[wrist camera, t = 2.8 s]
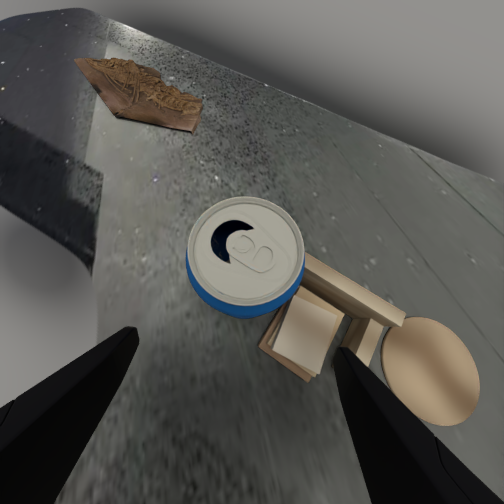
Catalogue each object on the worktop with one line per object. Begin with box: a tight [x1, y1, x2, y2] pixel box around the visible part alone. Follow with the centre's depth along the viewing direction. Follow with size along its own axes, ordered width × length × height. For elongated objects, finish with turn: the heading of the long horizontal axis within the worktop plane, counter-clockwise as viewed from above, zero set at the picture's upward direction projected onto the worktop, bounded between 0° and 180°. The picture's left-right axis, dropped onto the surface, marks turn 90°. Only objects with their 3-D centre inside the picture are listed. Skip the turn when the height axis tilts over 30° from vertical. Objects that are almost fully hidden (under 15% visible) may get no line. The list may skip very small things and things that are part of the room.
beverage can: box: [186, 197, 305, 319], centre depth 15 cm, size 6×6×12 cm
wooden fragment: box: [74, 58, 203, 134], centre depth 30 cm, size 26×11×1 cm, turn 51°
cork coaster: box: [381, 317, 480, 426], centre depth 19 cm, size 9×9×1 cm
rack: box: [300, 252, 406, 368], centre depth 18 cm, size 6×18×5 cm, turn 56°
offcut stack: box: [258, 286, 344, 383], centre depth 18 cm, size 7×5×4 cm
